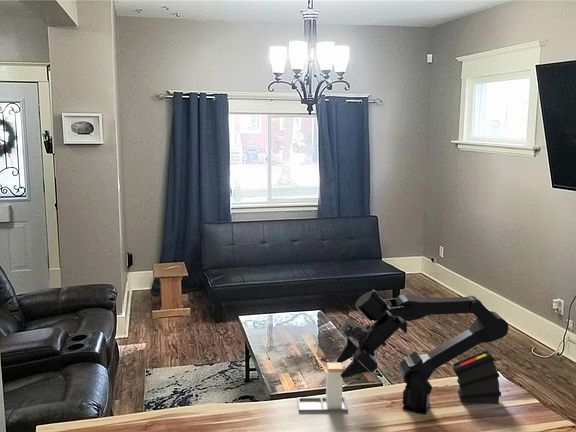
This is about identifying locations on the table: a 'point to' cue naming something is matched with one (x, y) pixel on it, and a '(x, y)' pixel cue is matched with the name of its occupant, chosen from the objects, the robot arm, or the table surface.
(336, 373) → the block
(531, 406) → the table surface
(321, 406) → the organiser
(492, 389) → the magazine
